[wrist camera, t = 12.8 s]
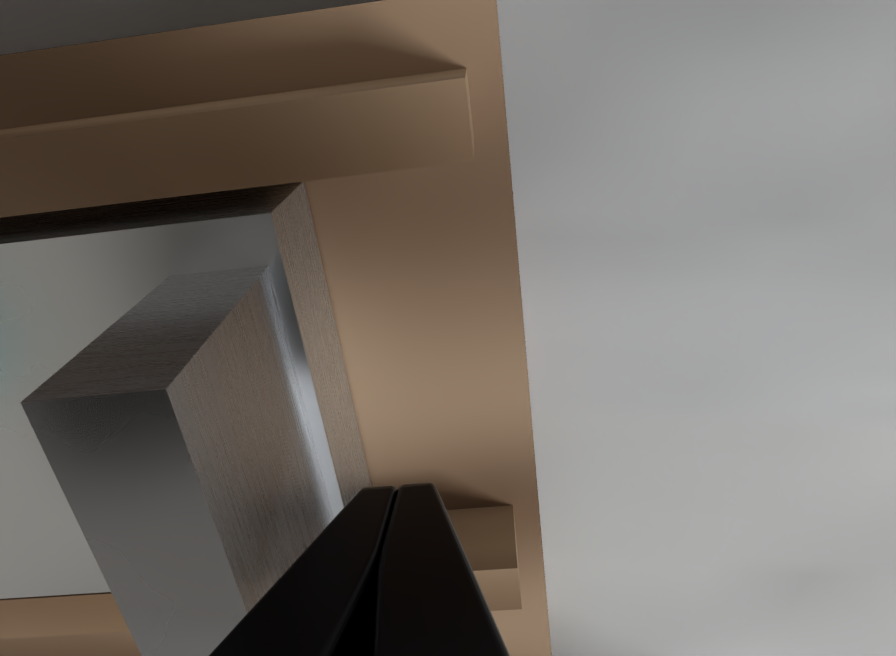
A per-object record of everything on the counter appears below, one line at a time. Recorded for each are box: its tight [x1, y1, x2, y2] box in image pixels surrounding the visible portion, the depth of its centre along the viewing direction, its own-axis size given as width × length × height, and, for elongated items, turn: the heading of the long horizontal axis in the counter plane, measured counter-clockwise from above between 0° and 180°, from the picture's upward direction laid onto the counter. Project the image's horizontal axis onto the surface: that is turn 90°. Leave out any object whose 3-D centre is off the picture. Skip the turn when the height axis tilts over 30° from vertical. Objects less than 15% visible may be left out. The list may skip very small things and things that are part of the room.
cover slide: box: [0, 182, 371, 656], centre depth 10 cm, size 6×9×5 cm
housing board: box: [0, 0, 551, 656], centre depth 13 cm, size 16×18×3 cm
